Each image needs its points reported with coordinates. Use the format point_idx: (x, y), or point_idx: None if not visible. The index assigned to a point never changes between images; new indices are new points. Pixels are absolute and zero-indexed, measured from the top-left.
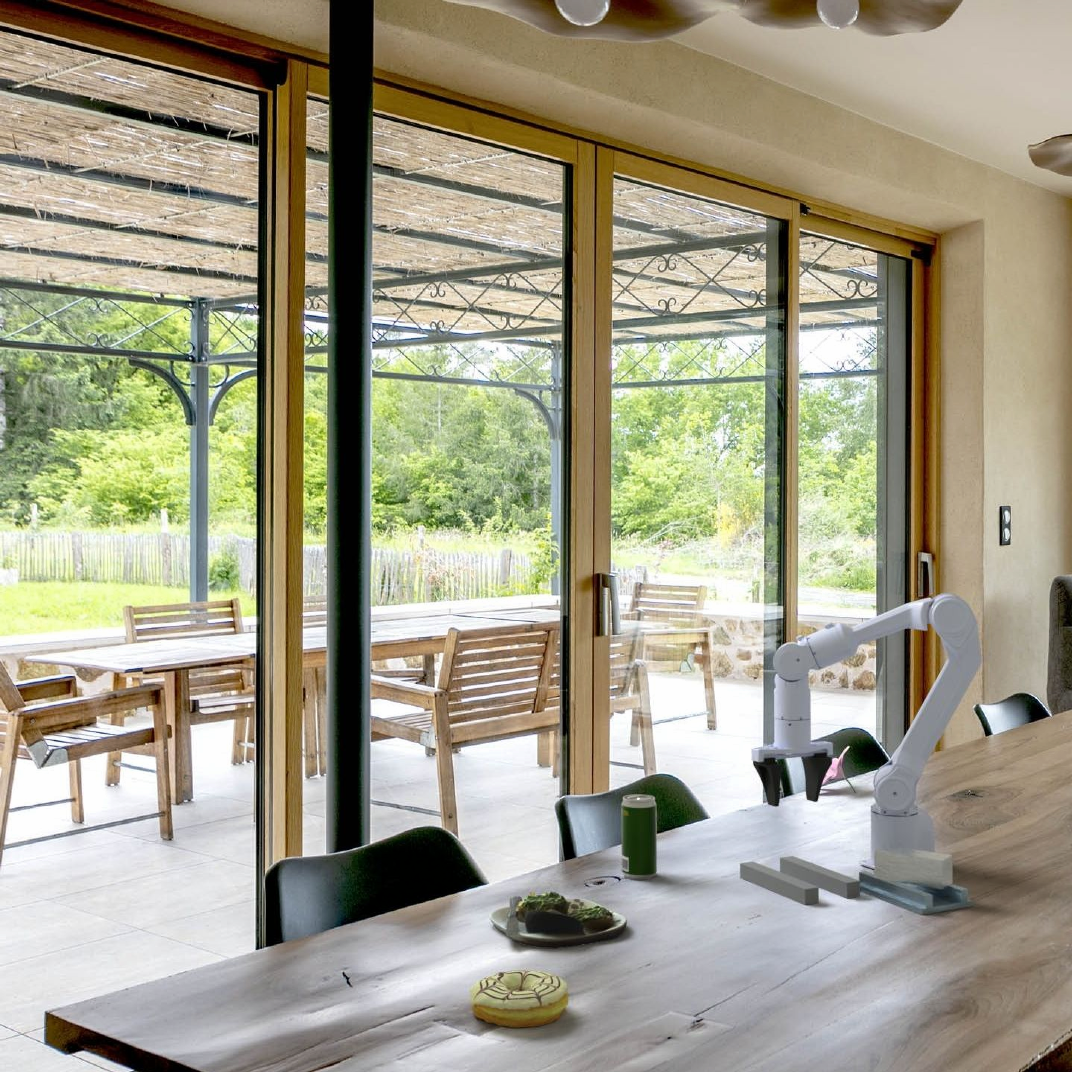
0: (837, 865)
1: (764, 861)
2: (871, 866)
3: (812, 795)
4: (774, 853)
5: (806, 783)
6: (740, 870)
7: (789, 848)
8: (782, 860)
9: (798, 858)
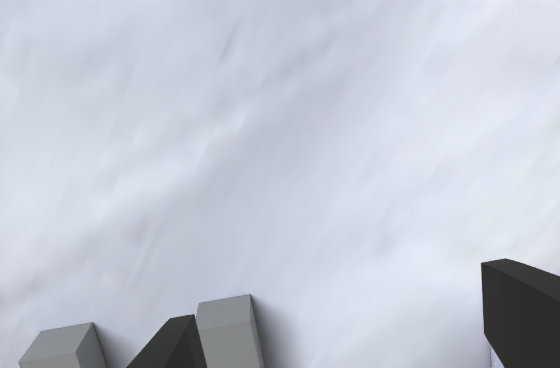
0: (422, 277)
1: (205, 164)
2: (493, 353)
3: (504, 337)
4: (296, 62)
5: (553, 309)
6: (31, 347)
7: (395, 2)
8: None
9: (254, 354)
